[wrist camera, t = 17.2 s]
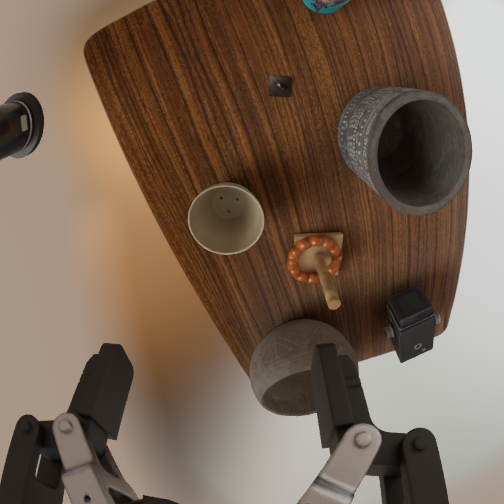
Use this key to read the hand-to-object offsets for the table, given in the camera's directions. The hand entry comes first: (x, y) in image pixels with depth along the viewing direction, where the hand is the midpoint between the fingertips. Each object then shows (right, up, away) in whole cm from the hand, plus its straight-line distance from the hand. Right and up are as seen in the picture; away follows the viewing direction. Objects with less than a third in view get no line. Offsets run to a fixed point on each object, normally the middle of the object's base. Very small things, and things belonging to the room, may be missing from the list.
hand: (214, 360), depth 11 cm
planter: (+20, +22, +27) cm, 40 cm away
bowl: (+11, -14, +49) cm, 52 cm away
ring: (+12, +3, +36) cm, 38 cm away
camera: (+33, -7, +45) cm, 56 cm away
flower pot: (-2, +12, +33) cm, 35 cm away
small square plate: (+5, +27, +24) cm, 36 cm away
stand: (+13, +4, +38) cm, 40 cm away
